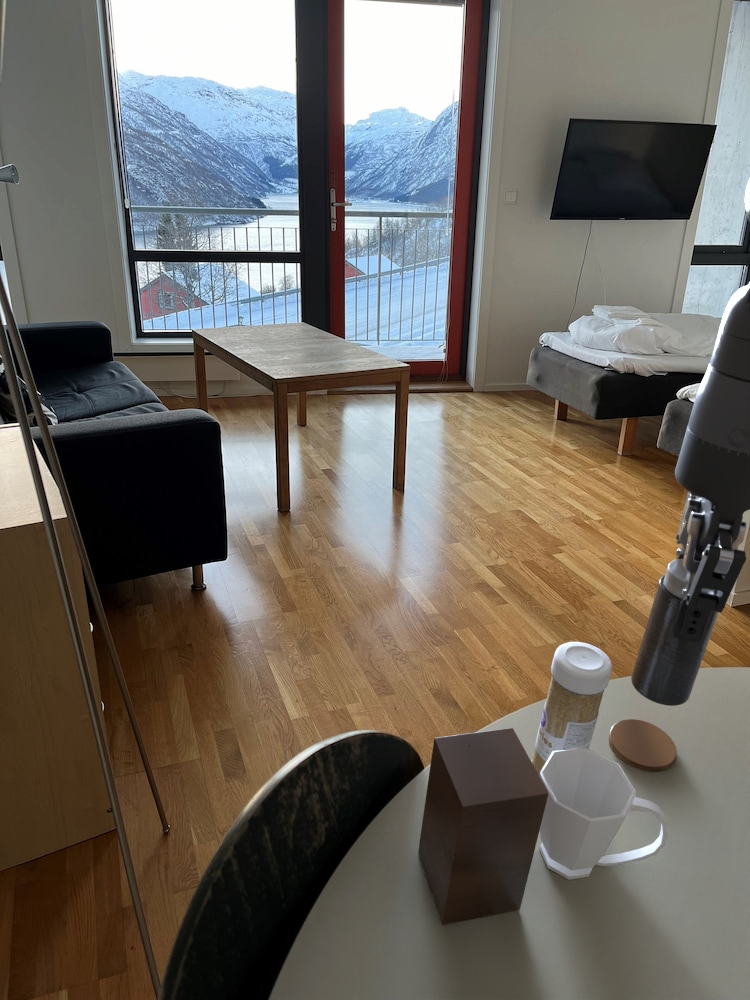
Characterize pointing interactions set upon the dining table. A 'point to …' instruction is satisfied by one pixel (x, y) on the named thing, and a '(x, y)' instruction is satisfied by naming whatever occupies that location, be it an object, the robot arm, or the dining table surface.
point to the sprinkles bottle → (572, 700)
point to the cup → (588, 813)
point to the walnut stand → (480, 824)
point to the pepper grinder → (669, 646)
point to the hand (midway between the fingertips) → (682, 617)
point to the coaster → (642, 745)
